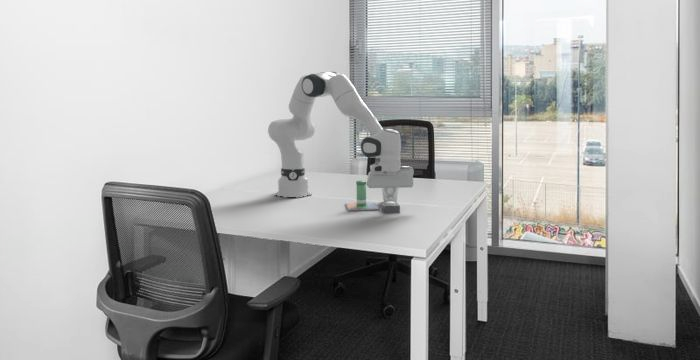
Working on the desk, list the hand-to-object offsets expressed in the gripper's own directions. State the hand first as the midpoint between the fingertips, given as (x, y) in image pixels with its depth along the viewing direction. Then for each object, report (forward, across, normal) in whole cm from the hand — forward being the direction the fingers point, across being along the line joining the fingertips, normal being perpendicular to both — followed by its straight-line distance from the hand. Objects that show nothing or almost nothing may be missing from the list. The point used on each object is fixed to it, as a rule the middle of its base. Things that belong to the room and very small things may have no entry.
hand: (389, 197), depth 238 cm
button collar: (+6, 0, 0) cm, 6 cm away
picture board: (+6, +11, -9) cm, 16 cm away
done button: (+6, 0, 0) cm, 6 cm away
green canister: (+6, +11, -10) cm, 16 cm away
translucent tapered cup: (+6, -4, -20) cm, 21 cm away
